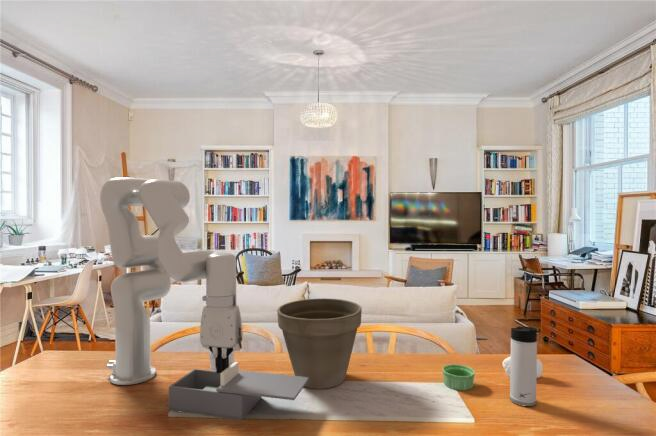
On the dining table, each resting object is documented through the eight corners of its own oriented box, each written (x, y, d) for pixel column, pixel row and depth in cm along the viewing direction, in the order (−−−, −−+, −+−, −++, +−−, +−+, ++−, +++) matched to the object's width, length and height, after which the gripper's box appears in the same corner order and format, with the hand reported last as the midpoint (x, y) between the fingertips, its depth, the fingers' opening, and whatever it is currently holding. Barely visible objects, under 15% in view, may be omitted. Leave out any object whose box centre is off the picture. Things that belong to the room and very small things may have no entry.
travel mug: (526, 409, 105) (527, 331, 105) (504, 399, 111) (505, 325, 110) (542, 404, 108) (543, 328, 107) (520, 394, 114) (521, 322, 113)
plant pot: (281, 402, 109) (281, 320, 109) (274, 366, 133) (274, 299, 133) (372, 393, 114) (372, 315, 114) (349, 361, 138) (349, 296, 138)
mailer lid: (216, 391, 101) (216, 376, 101) (238, 372, 113) (238, 359, 113) (294, 400, 97) (294, 385, 97) (308, 379, 108) (308, 365, 108)
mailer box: (168, 410, 105) (168, 386, 105) (195, 389, 116) (194, 368, 116) (241, 419, 100) (241, 395, 100) (261, 397, 112) (261, 375, 111)
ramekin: (439, 388, 118) (439, 372, 118) (445, 376, 126) (445, 362, 126) (472, 394, 114) (473, 378, 114) (476, 381, 122) (476, 367, 122)
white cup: (228, 378, 125) (227, 345, 124) (203, 375, 126) (203, 343, 126) (238, 368, 132) (238, 336, 132) (216, 366, 134) (215, 335, 134)
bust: (540, 383, 126) (529, 346, 133) (551, 376, 120) (539, 338, 127) (501, 383, 126) (492, 346, 133) (510, 376, 120) (500, 338, 127)
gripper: (187, 302, 105) (188, 374, 106) (241, 306, 102) (242, 380, 102) (203, 296, 113) (204, 363, 113) (254, 299, 109) (254, 368, 109)
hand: (222, 371), depth 108 cm, fingers closed
